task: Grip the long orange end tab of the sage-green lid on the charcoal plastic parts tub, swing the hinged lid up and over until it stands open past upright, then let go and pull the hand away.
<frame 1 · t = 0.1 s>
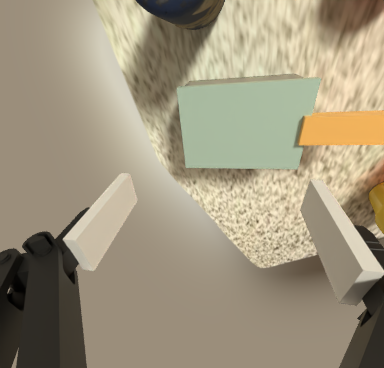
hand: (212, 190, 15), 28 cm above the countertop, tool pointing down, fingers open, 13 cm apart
lid: (279, 129, 29), point 10 cm above the countertop, hinge at 0.0°
tub: (238, 112, 38), on the countertop
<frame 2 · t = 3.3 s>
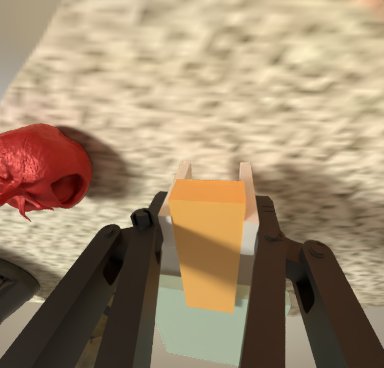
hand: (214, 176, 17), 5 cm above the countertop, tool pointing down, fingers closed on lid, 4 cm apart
lid: (211, 311, 19), point 10 cm above the countertop, hinge at 0.0°, touching gripper
canister: (123, 268, 38), on the countertop
pomegranate: (65, 156, 24), on the countertop
tub: (217, 257, 30), on the countertop
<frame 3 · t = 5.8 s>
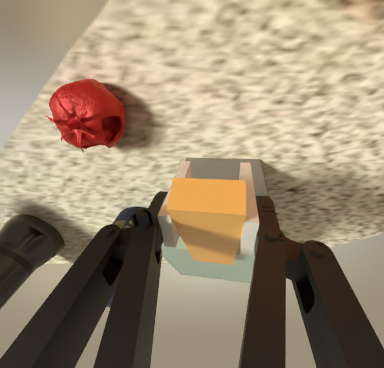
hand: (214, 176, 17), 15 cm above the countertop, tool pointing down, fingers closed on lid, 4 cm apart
lid: (214, 258, 23), point 16 cm above the countertop, hinge at 22.6°, touching gripper
canister: (141, 219, 45), on the countertop
pomegranate: (104, 110, 32), on the countertop
tub: (220, 200, 38), on the countertop
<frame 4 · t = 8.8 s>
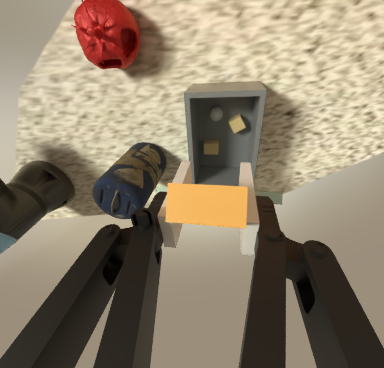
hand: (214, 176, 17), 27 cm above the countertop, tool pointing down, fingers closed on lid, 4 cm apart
lid: (217, 197, 24), point 21 cm above the countertop, hinge at 53.2°, touching gripper
canister: (149, 158, 48), on the countertop
pomegranate: (119, 37, 35), on the countertop
tub: (224, 130, 41), on the countertop
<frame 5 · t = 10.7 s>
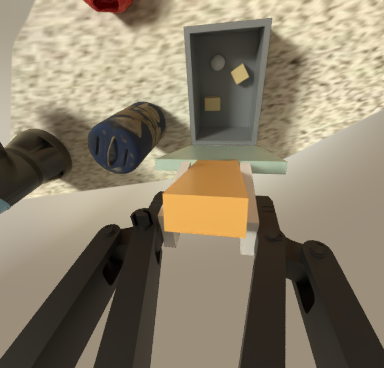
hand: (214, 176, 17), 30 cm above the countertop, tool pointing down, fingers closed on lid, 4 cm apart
lid: (219, 164, 23), point 23 cm above the countertop, hinge at 71.1°, touching gripper
canister: (148, 121, 46), on the countertop
tub: (225, 85, 39), on the countertop
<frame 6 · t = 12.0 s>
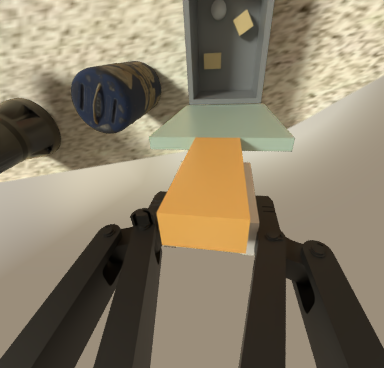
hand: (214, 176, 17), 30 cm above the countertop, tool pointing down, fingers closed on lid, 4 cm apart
lid: (219, 136, 21), point 24 cm above the countertop, hinge at 86.1°, touching gripper
canister: (142, 86, 43), on the countertop
tub: (227, 40, 35), on the countertop
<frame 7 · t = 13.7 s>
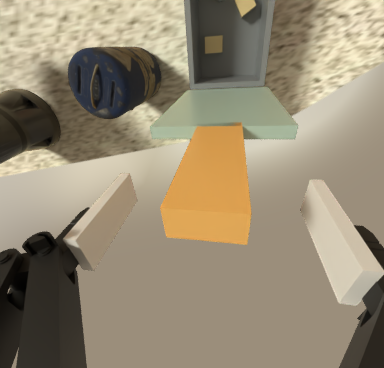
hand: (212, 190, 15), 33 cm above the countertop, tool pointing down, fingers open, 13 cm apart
lid: (221, 123, 21), point 24 cm above the countertop, hinge at 90.4°
canister: (141, 74, 42), on the countertop
tub: (229, 22, 34), on the countertop
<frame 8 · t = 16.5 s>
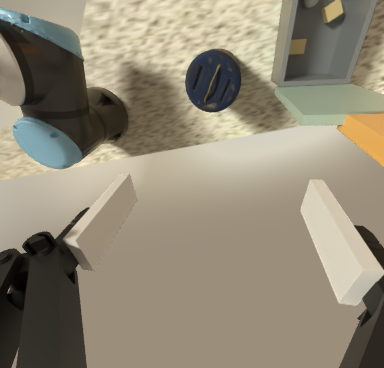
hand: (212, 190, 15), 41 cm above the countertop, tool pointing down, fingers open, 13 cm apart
lid: (347, 113, 25), point 24 cm above the countertop, hinge at 90.4°
canister: (218, 73, 46), on the countertop
tub: (310, 27, 39), on the countertop
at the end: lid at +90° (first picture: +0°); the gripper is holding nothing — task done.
